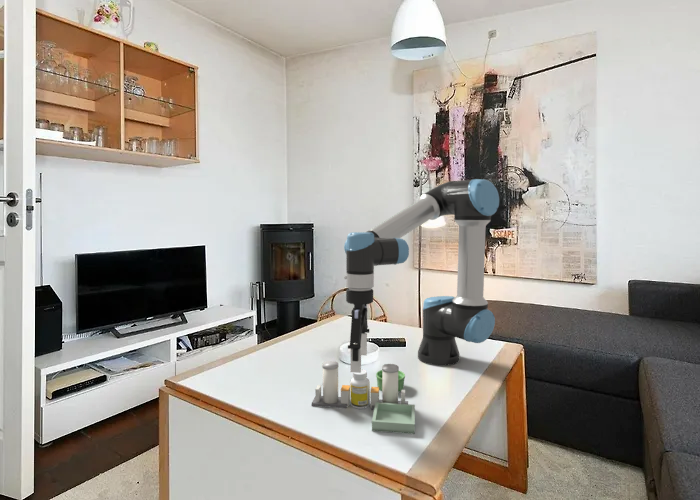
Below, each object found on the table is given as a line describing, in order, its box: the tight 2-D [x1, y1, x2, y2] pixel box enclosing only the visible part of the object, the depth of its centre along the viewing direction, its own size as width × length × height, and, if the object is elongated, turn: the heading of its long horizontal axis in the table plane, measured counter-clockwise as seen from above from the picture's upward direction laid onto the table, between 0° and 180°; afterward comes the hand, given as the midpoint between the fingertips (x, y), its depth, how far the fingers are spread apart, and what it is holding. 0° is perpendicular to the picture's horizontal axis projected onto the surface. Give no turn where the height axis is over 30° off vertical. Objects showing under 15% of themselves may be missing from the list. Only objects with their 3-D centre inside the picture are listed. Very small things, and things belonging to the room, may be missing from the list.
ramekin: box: [375, 369, 406, 393], centre depth 132 cm, size 9×9×4 cm
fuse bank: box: [311, 360, 409, 411], centre depth 120 cm, size 27×5×12 cm, turn 81°
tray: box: [371, 402, 416, 435], centre depth 111 cm, size 11×11×2 cm
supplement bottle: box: [349, 368, 371, 410], centre depth 120 cm, size 5×5×10 cm
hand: (359, 363), depth 119 cm, fingers open, 13 cm apart
